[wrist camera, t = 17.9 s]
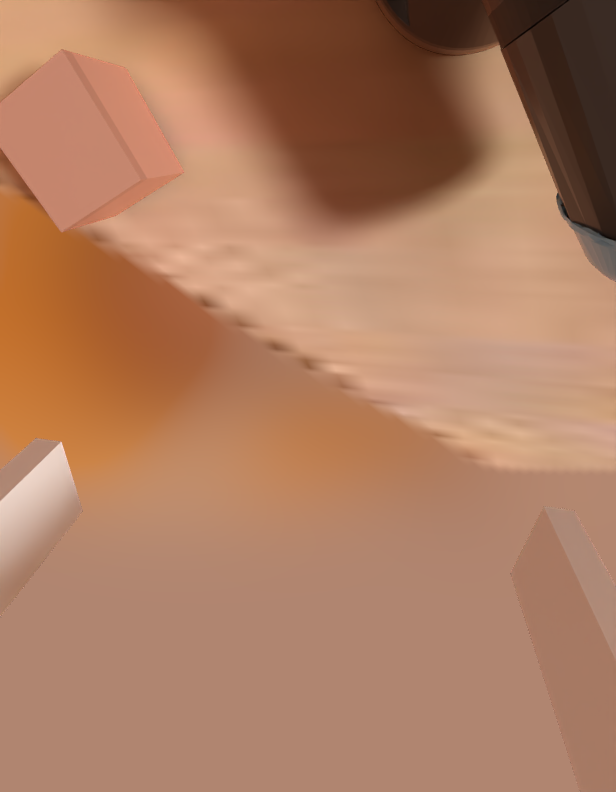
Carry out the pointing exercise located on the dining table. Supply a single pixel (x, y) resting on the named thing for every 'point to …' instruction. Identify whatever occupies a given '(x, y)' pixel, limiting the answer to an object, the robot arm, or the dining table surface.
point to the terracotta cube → (84, 140)
